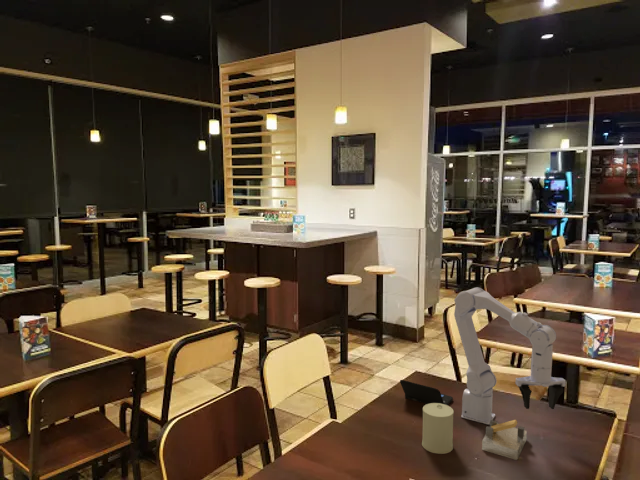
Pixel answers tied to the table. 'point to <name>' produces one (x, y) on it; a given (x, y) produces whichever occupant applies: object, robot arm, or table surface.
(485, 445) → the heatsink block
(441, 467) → the table surface
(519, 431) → the lug
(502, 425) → the golden yellow flat bar
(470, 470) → the table surface
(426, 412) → the can
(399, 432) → the table surface
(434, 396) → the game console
